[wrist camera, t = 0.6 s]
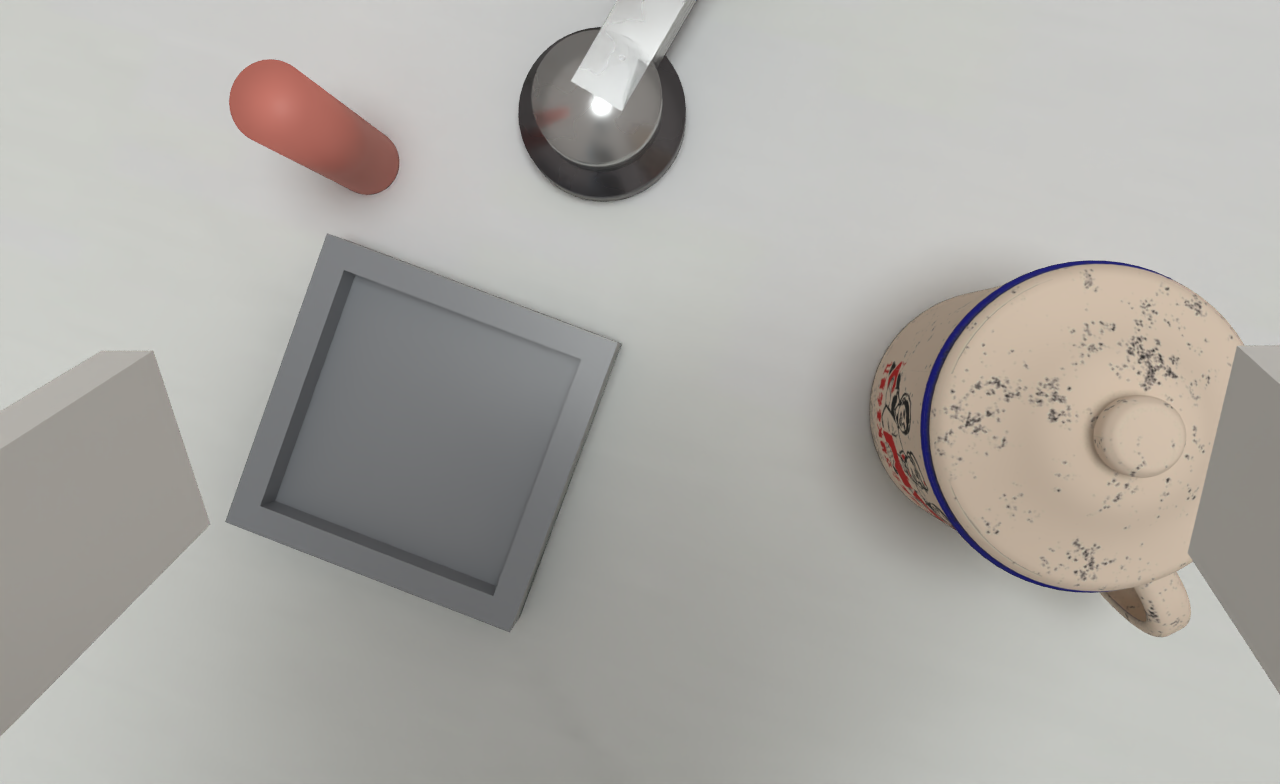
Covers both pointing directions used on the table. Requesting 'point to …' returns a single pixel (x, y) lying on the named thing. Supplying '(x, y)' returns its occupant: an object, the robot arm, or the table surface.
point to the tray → (422, 432)
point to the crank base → (616, 181)
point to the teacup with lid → (1064, 427)
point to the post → (311, 127)
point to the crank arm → (607, 85)
